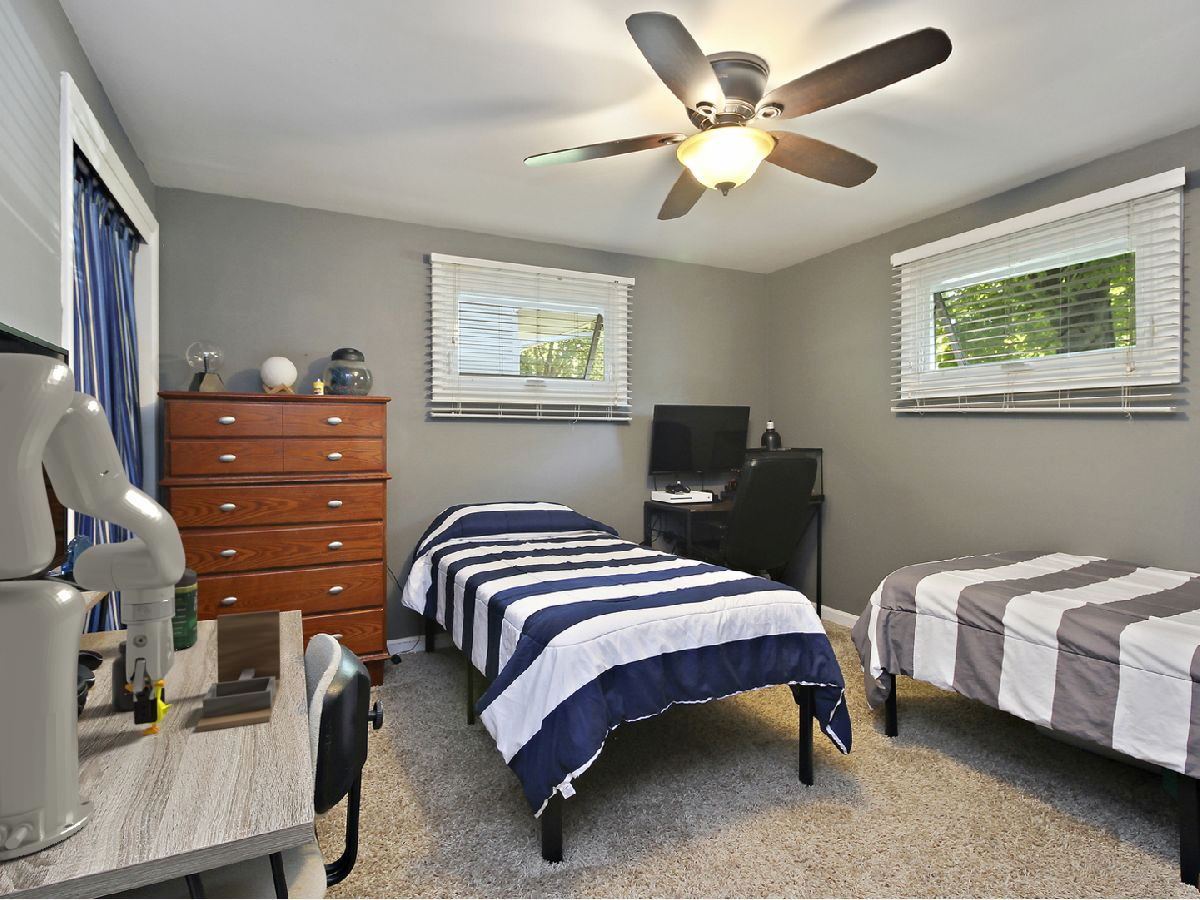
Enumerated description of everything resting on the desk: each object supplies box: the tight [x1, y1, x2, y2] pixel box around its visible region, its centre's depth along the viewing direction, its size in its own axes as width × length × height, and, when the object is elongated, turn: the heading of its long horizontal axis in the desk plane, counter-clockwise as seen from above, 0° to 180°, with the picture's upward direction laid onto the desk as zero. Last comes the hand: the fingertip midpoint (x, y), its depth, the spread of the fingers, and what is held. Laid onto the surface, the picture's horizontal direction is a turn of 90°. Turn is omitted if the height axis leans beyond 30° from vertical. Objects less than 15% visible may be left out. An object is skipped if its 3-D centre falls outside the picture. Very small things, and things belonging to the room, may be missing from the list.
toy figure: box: [125, 677, 173, 736], centre depth 110 cm, size 7×4×12 cm, turn 112°
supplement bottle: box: [111, 639, 134, 712], centre depth 121 cm, size 7×7×12 cm
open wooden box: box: [196, 609, 281, 733], centre depth 121 cm, size 20×11×15 cm, turn 21°
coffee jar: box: [171, 567, 198, 651], centre depth 157 cm, size 10×8×19 cm
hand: (149, 716), depth 110 cm, fingers open, 3 cm apart
